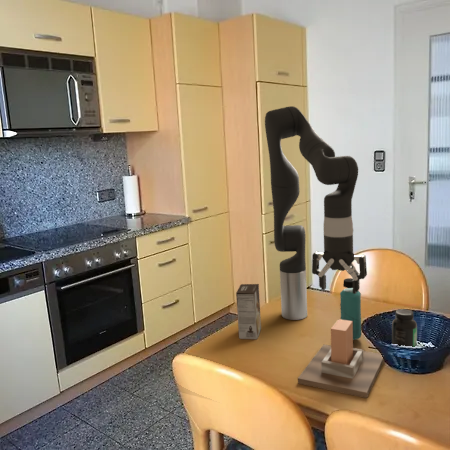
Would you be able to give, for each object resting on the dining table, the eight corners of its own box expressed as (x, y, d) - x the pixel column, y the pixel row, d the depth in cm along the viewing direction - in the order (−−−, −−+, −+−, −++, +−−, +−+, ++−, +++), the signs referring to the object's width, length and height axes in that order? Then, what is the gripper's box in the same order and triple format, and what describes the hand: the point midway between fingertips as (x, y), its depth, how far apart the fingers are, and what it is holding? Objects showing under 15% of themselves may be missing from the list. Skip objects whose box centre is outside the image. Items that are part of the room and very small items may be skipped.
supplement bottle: (421, 353, 137) (421, 314, 135) (399, 356, 136) (399, 317, 134) (408, 343, 144) (408, 306, 142) (387, 346, 143) (387, 309, 141)
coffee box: (243, 327, 164) (240, 283, 161) (261, 328, 163) (259, 283, 160) (238, 339, 155) (235, 292, 152) (258, 339, 154) (255, 292, 151)
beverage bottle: (363, 337, 151) (362, 276, 147) (360, 346, 145) (359, 283, 141) (342, 334, 153) (341, 275, 150) (338, 343, 147) (337, 281, 144)
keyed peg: (331, 370, 128) (330, 328, 126) (339, 359, 134) (338, 319, 132) (346, 373, 126) (345, 330, 124) (353, 361, 132) (352, 321, 130)
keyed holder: (323, 348, 144) (323, 335, 143) (384, 359, 135) (384, 344, 135) (297, 383, 126) (297, 367, 125) (366, 398, 117) (366, 381, 116)
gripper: (307, 234, 125) (309, 292, 128) (362, 237, 118) (362, 298, 121) (316, 228, 131) (318, 283, 135) (368, 230, 125) (369, 289, 128)
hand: (339, 290), depth 128 cm, fingers open, 8 cm apart
